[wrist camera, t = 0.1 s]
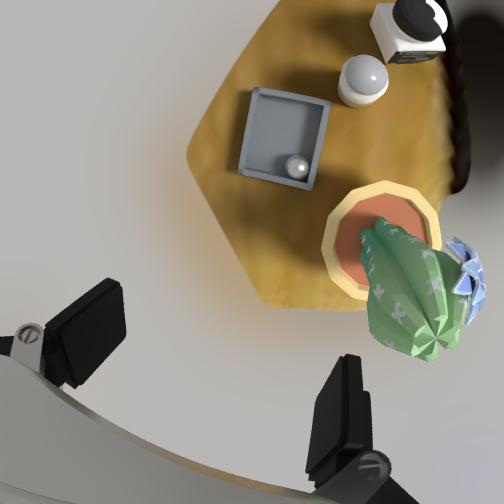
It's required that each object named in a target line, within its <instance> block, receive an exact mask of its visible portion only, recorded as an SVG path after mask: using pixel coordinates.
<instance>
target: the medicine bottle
mask: <svg viewBox="0 0 504 504" xmlns="http://www.w3.org/2000/svg"><path fill="white" fill-rule="evenodd" d="M370 26H371V29H372V31H373V33H374V36H375V38H376V40H377V43H378V45H379V48H380V50H381V53H382V56H383V58H384V61H385V63H386V64H387V65H393V64H408V63H428V62H430V61H431V60H433V59H434V58H435V57H437V56H438V55H440V54H441V53H442V52H444V51H445V50H446V48H445V45H444V43H443V40H442V38H441V36H440V35H441V34H442V33H443V32H445V30H446V28H447V18H446V16H445V13H444V12H443V10H442V9H441V7H440V6H439V5H438V4H437V3H436V2H435V1H434V0H397V1H396V3H379V4H377V5H376V8H375V11H374V13H373V16H372V19H371V21H370Z"/></svg>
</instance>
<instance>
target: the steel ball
mask: <svg viewBox="0 0 504 504" xmlns="http://www.w3.org/2000/svg"><path fill="white" fill-rule="evenodd" d="M285 170H286V173H287V174H288V175H289V176H290V177H291V178H293V179H303V178H304V177H306V176H307V175H308V173H309V170H310V165H309V162H308V160H307V159H306V158H305V157H303V156H300V155H294V156H292V157H290V158H289V159H288V160H287V161H286V164H285Z"/></svg>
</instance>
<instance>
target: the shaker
mask: <svg viewBox="0 0 504 504" xmlns="http://www.w3.org/2000/svg"><path fill="white" fill-rule="evenodd" d="M387 87H388V73H387V70H386V68H385V66H384V65H383V64H382V63H381V62H380V61H379V60H378V59H376V58H374V57H372V56H369V55H358V56H355V57H352V58H350V59H349V60H347V61H346V62H345V64H344V65H343V67H342V71H341V75H340V79H339V83H338V87H337V90H338V95H339V97H340V99H341V100H342V101H343V102H344V103H345V104H346V105H347V106H349V107H352V108H355V109H362V108H366V107H368V106H369V105H370V104H372V103H373V102H374V101H375V100H376V99H378V98H379V97H380V96H381V95H383V94H384V92H385V91H386V89H387Z"/></svg>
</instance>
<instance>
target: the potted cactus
mask: <svg viewBox="0 0 504 504" xmlns="http://www.w3.org/2000/svg"><path fill="white" fill-rule="evenodd" d="M453 240H454V241H455V242H456V243H453V242H446V244H445V247H446V248H447V249H448V250H449V251H450V252H451V253H452V254H454V256H456V257H457V258H458V259H459V260H460V261H461V262H460V265H459V264H458V263H457V262H456V261H455V260H453V259H452V258H451V257H450V256H449V255H448V254H447V253H444V252H441V251H440V249H441V246H442V242H441V234H440V228H439V222H438V216H437V213H436V212H435V211H434V209H433V208H432V207H431V206H430V204H429V203H428V202H427V201H426V200H425V199H424V197H423V196H422V195H421V194H420V193H419V192H418V191H417V190H416V189H414V188H410V187H407V186H403V185H400V184H396V183H393V182H389V181H386V180H384V181H381V182H377V183H374V184H371V185H367V186H364V187H361V188H357V189H354V190H351V192H350V193H349V194H348V195H347V196H346V197H345V198H344V199H343V200H342V202H341V203H340V204H339V205H338V206H337V207H336V208H335V209H334V210H333V211H332V212H331V214H330V215H329V216H328V219H327V223H326V228H325V232H324V237H323V241H322V246H321V251H322V254H323V257H324V260H325V263H326V266H327V270H328V273H329V276H330V279H332V280H333V281H334V282H335V283H336V284H337V285H338V286H340V287H341V288H342V289H343V290H344V291H345V292H346V293H348V294H349V295H350V296H351V297H352V298H356V299H361V300H366V301H367V311H368V320H369V328H370V329H369V330H370V333H371V334H372V336H373V337H374V339H376V340H377V341H379V342H380V343H381V344H383V345H384V346H387V347H389V348H392V349H394V350H397V351H400V352H402V353H405V354H407V355H410V356H414V357H417V358H419V359H422V360H425V361H427V362H431V361H434V360H435V358H436V357H437V355H438V353H439V352H438V346H437V341H438V342H439V343H440V344H441V345H442V346H443V347H444V349H454V348H455V346H456V345H457V342H458V338H459V332H460V328H461V327H462V325H463V321H464V316H465V311H466V306H467V301H468V295H470V297H471V300H470V302H469V303H470V308H469V312H468V314H467V317H466V319H465V322H464V323H465V324H466V325H468V324H469V323H470V321H471V320H472V319H473V318H474V316H475V314H476V312H477V310H478V311H480V309H481V307H482V305H483V302H484V299H485V296H486V290H485V287H486V286H485V279H484V273H483V270H482V266H481V262H480V259H479V257H478V254H477V252H476V251H475V249H474V248H473V247H471V246H470V245H469V244H467V243H465V242H463V241H461V240H459V239H458V238H456V237H454V238H453Z"/></svg>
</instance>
